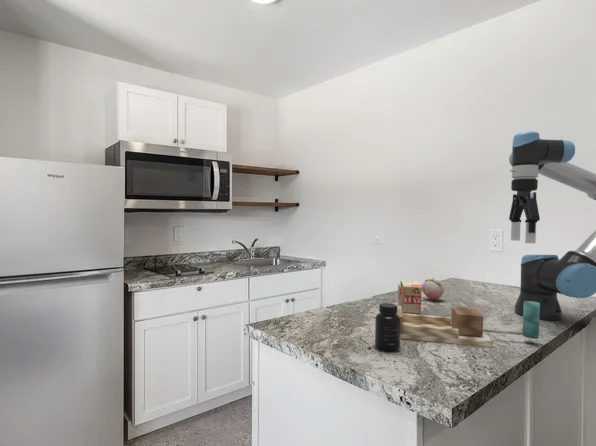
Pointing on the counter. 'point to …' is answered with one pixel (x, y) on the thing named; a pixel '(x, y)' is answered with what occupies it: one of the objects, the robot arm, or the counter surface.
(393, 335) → the supplement bottle
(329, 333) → the counter surface
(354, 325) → the counter surface
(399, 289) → the stack of blocks
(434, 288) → the decorative fruit
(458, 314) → the brown teal long piece
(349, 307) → the counter surface
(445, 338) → the lane board
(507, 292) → the counter surface
